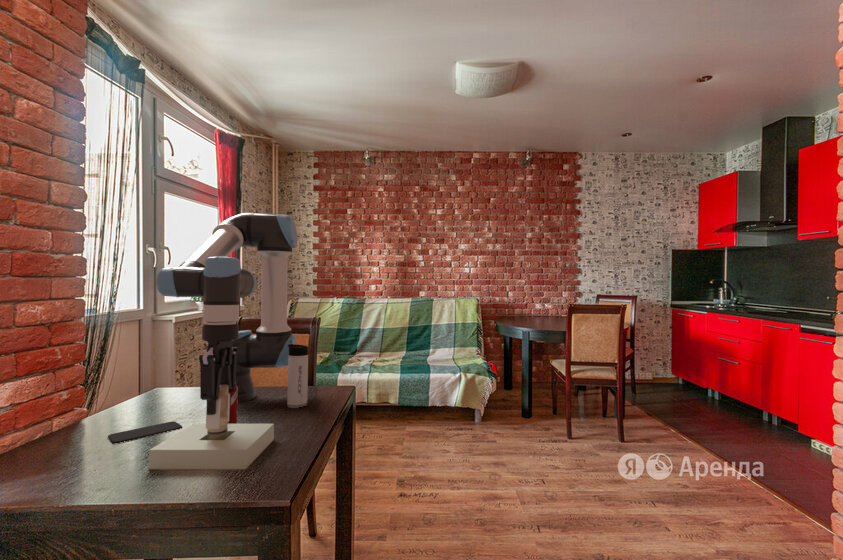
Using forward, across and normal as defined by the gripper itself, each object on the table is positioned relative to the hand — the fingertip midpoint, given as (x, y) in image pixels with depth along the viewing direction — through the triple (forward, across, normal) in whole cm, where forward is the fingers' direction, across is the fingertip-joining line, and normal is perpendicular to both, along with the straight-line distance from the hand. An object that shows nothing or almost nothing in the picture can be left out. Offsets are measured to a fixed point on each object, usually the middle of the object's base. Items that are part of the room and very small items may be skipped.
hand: (217, 424), depth 87 cm
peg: (+5, 0, 0) cm, 5 cm away
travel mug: (+7, -37, +7) cm, 38 cm away
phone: (+7, -13, -25) cm, 29 cm away
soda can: (+7, -17, -7) cm, 20 cm away
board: (+7, 0, 0) cm, 7 cm away
